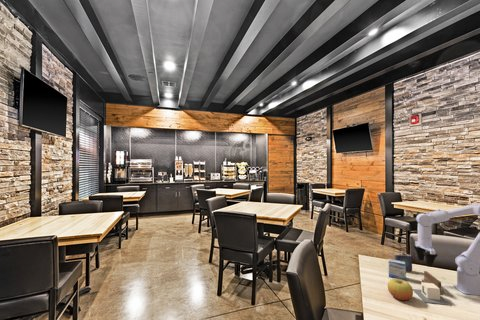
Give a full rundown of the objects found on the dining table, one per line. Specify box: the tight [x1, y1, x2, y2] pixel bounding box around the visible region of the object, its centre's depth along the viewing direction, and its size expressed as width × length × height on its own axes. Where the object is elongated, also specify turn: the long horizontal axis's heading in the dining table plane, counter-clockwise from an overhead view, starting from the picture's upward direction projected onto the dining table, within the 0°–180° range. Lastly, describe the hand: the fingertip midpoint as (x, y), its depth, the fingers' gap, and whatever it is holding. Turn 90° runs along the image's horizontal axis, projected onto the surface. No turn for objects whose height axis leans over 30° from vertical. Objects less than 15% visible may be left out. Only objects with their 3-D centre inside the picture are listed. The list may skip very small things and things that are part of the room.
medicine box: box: [387, 258, 407, 281], centre depth 128 cm, size 8×4×9 cm, turn 58°
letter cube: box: [420, 281, 441, 300], centre depth 108 cm, size 5×5×5 cm
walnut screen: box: [421, 270, 445, 296], centre depth 117 cm, size 3×13×6 cm, turn 168°
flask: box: [393, 250, 413, 272], centre depth 136 cm, size 9×3×11 cm, turn 76°
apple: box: [387, 278, 414, 301], centre depth 108 cm, size 10×10×8 cm
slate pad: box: [412, 288, 452, 306], centre depth 108 cm, size 10×11×1 cm
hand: (425, 263), depth 121 cm, fingers open, 7 cm apart
